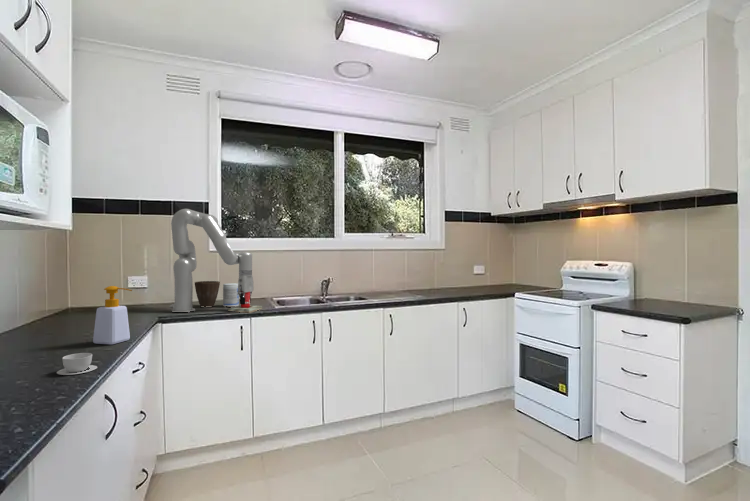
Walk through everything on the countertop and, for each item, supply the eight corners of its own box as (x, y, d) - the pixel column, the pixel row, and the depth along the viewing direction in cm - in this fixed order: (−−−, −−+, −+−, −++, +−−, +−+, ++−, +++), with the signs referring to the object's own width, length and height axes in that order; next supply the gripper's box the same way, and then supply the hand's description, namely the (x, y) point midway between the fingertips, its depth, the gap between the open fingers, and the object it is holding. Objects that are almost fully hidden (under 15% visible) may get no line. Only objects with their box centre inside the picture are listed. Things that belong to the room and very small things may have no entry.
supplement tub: (240, 307, 260) (241, 283, 260) (225, 308, 254) (225, 284, 254) (236, 305, 268) (236, 282, 268) (221, 306, 262) (221, 283, 262)
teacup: (100, 371, 124) (100, 356, 124) (59, 378, 117) (59, 362, 117) (93, 364, 131) (93, 350, 131) (54, 371, 124) (54, 355, 124)
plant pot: (201, 305, 266) (201, 280, 266) (223, 305, 266) (223, 281, 266) (189, 308, 252) (190, 282, 251) (213, 309, 251) (213, 282, 251)
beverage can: (240, 308, 242) (240, 288, 242) (241, 307, 247) (241, 287, 247) (249, 308, 243) (249, 288, 243) (250, 307, 248) (250, 287, 248)
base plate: (228, 311, 240) (228, 308, 240) (241, 308, 254) (241, 305, 254) (249, 313, 236) (249, 309, 236) (262, 309, 250) (262, 306, 250)
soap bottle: (121, 346, 155) (122, 287, 155) (91, 344, 158) (91, 286, 158) (140, 340, 165) (141, 285, 164) (111, 339, 167) (111, 284, 167)
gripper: (242, 274, 236) (242, 305, 236) (258, 272, 252) (258, 302, 252) (231, 273, 238) (231, 305, 238) (247, 272, 254) (247, 301, 254)
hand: (245, 303), depth 245 cm, fingers closed on beverage can, 5 cm apart
